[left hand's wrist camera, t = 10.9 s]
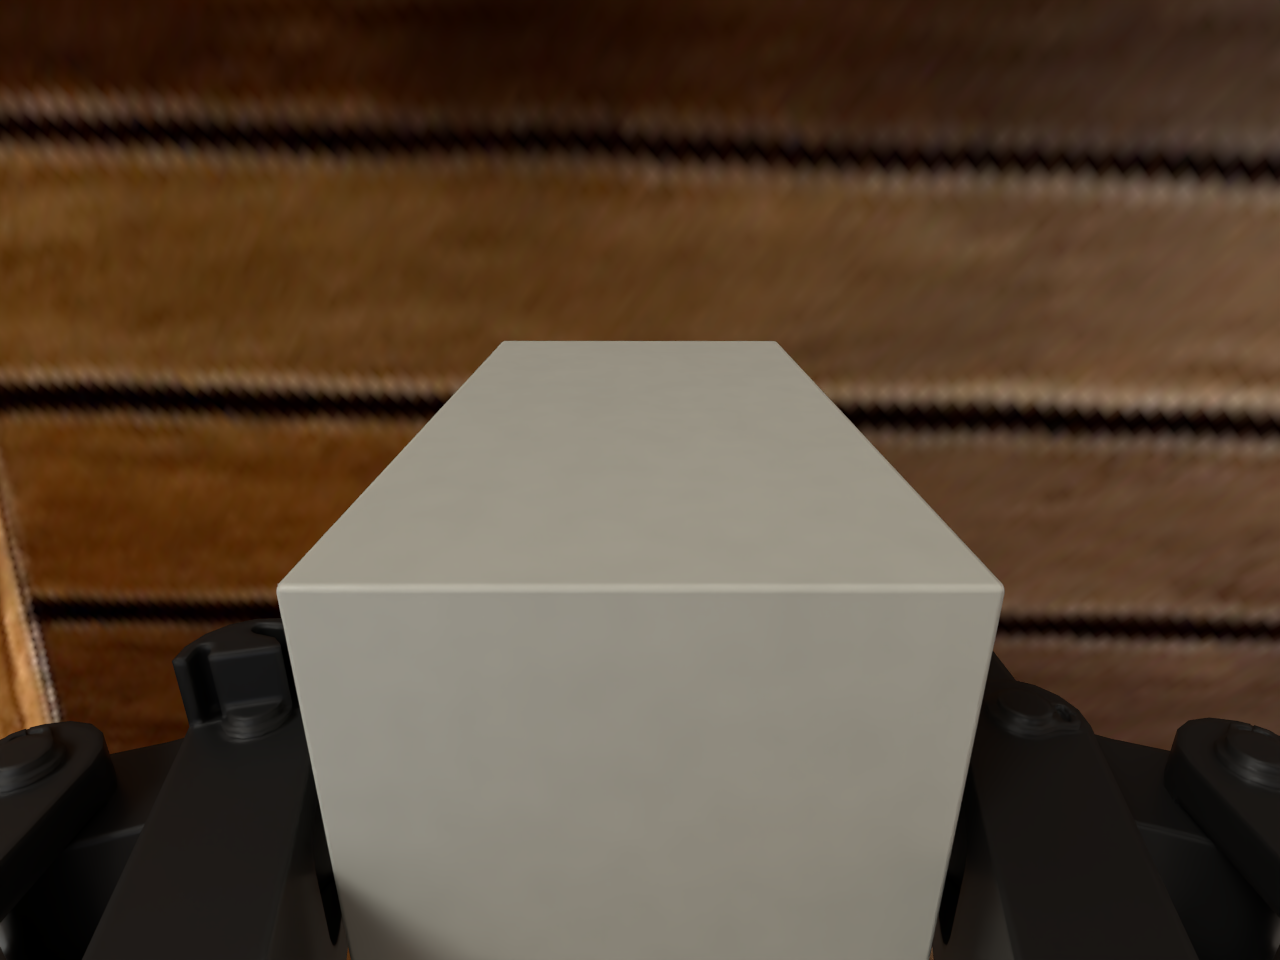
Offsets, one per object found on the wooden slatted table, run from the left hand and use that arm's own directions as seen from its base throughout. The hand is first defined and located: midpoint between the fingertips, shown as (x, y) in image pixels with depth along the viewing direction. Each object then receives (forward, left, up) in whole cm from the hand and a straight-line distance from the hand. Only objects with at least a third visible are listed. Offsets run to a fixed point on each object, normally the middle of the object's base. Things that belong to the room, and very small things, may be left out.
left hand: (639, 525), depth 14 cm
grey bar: (0, +8, 0) cm, 9 cm away
